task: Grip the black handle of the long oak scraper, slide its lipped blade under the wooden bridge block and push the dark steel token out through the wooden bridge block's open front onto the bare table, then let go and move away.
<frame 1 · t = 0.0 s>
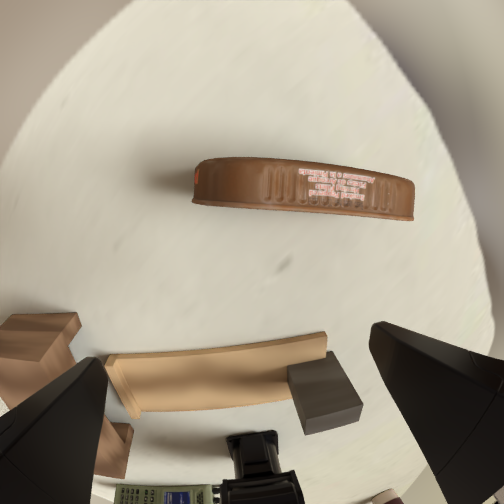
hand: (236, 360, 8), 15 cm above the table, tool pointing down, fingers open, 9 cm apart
handheld radio: (176, 486, 34), on the table
scraper: (309, 364, 27), on the table
coffee cup: (382, 493, 50), on the table
tin: (294, 184, 22), on the table
wooden bridge block: (72, 380, 25), on the table
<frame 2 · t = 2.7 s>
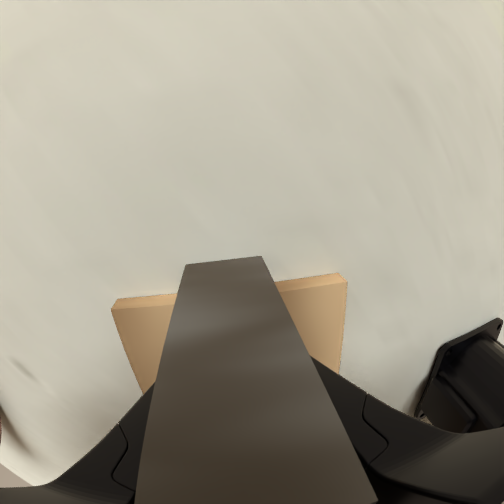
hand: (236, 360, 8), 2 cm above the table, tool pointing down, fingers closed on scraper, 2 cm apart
scraper: (232, 325, 10), on the table, touching gripper
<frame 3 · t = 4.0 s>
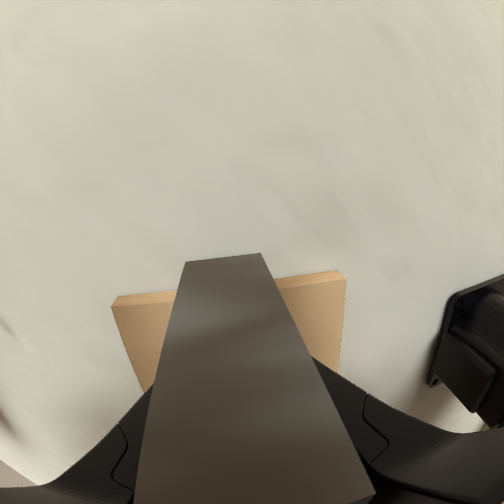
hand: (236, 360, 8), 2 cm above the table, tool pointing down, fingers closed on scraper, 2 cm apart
scraper: (231, 322, 10), on the table, touching gripper
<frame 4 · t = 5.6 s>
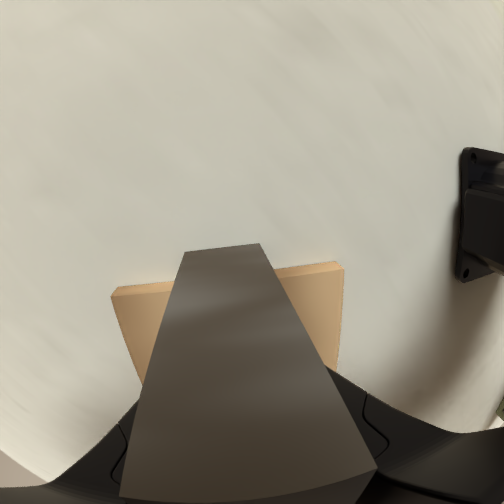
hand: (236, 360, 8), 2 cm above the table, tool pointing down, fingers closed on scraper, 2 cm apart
scraper: (230, 313, 10), on the table, touching gripper, token
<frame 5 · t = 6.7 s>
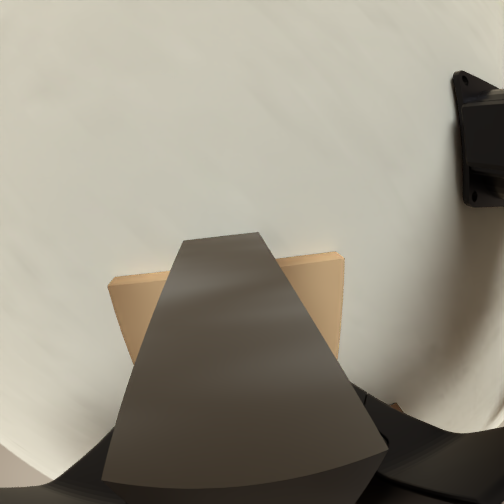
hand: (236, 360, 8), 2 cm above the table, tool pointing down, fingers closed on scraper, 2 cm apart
scraper: (229, 304, 10), on the table, touching gripper
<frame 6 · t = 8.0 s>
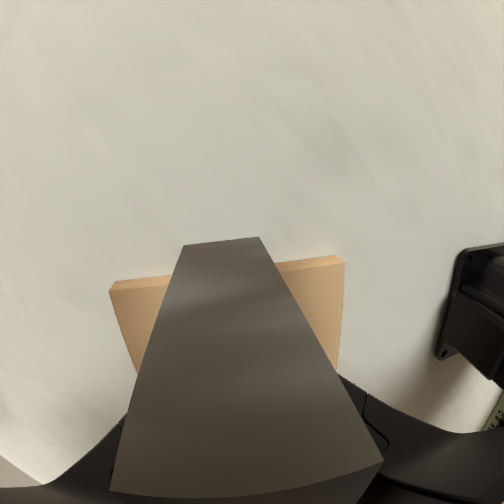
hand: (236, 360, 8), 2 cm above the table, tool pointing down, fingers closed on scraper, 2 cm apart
scraper: (229, 307, 10), on the table, touching gripper
when the fingers open (2 cm above the table, at t = 8.5 s): scraper stays where it is, on the table.
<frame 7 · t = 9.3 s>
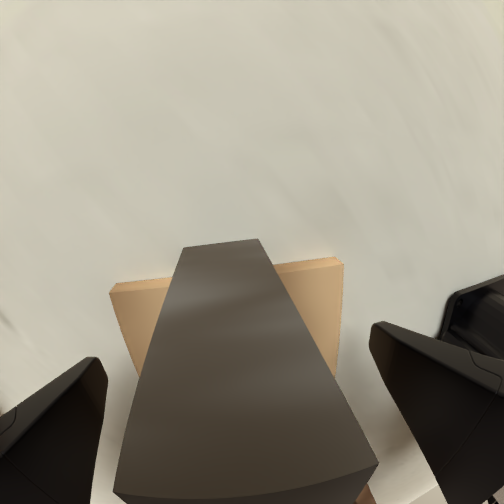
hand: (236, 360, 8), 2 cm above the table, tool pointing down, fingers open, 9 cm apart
scraper: (229, 309, 10), on the table
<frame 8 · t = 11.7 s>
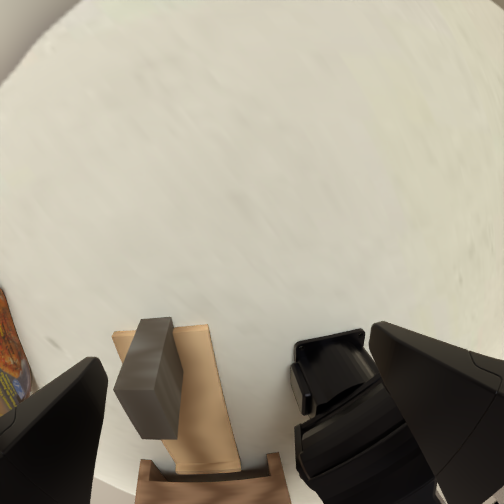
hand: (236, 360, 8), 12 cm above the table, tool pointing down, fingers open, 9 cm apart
scraper: (163, 343, 21), on the table
tin: (9, 329, 19), on the table
wooden bridge block: (214, 475, 29), on the table
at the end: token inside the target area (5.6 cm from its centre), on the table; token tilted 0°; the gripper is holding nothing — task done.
